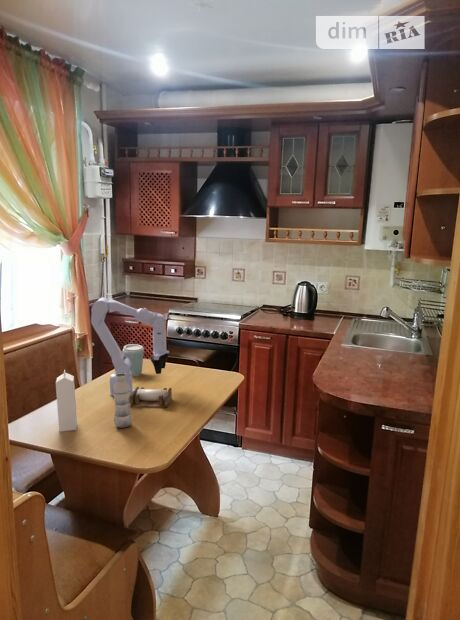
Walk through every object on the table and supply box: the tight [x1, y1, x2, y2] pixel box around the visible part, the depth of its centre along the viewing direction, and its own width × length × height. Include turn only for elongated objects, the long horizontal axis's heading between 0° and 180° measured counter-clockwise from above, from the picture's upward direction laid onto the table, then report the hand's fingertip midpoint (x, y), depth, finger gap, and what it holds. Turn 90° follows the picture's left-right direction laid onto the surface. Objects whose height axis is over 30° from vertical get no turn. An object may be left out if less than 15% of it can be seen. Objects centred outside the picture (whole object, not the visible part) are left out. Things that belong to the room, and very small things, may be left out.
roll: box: [137, 388, 168, 401], centre depth 191 cm, size 12×5×5 cm, turn 85°
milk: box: [55, 369, 78, 433], centre depth 166 cm, size 6×6×22 cm
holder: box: [129, 386, 173, 409], centre depth 191 cm, size 15×10×5 cm, turn 85°
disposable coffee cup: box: [122, 343, 145, 378], centre depth 225 cm, size 11×11×15 cm
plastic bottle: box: [113, 374, 133, 429], centre depth 167 cm, size 6×7×20 cm
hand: (160, 370), depth 202 cm, fingers open, 7 cm apart
